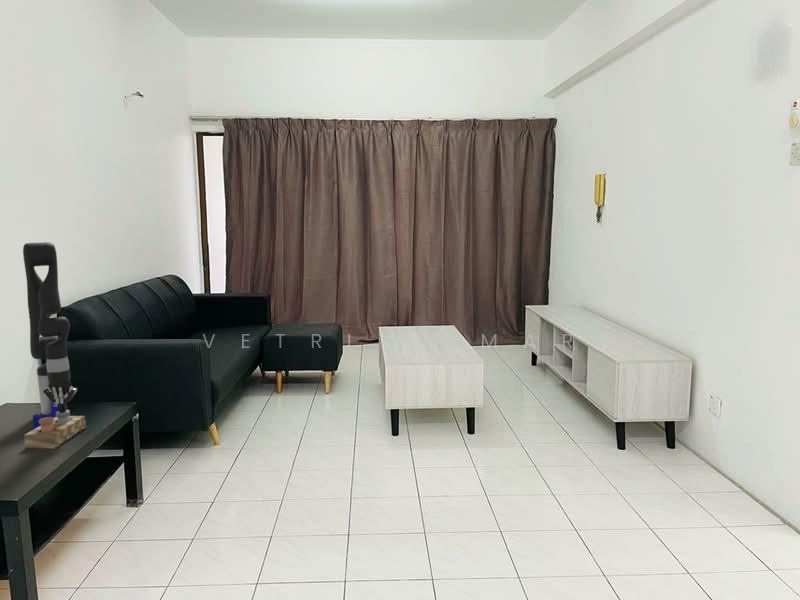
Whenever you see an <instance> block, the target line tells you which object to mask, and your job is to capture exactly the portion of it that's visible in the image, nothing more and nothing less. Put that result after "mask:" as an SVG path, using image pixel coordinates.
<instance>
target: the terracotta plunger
mask: <svg viewBox="0 0 800 600" xmlns="http://www.w3.org/2000/svg"><path fill="white" fill-rule="evenodd" d="M53 422H54V418H53V417H46V416H44V417H43V418H41V419H39V424H40V425H41V433H50V432H52V431H53V430H54V428H53Z"/></svg>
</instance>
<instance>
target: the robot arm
mask: <svg viewBox="0 0 800 600" xmlns="http://www.w3.org/2000/svg"><path fill="white" fill-rule="evenodd" d="M22 254H23V262H24V263H23V264H24V269H25V271H24V272H25V278H26V289H27V290H26V291H27V292H26V293H27V308H28V318H29V331H30V333H29V349H30V355H31V357H32V358H33V359H35V360H41V359H46V363H44V364H41V365H40V366H38V367H37V368H36V373H37V375H36V376H37V383H38V385H37V386H38V392H39V402H40V411H41V415H42V416H47V414H49V413H51V411H52V406H54V405H55V406H58V411H59V413H64V412H66V410H68V404H67V403H68V402H69V401H71V400H73V398H74V396H75V395H76V394H77V391H78V390H79V389H78V387H74V386H73V384H72V382H71V369H70V362H69V358H68V357H69V356H68V349H67V348H68V347H67V345H68V344H67V343H68V337H69V332H70V328H71V323H70V320H69V319H68V318H67V317H66V316H58V317H57V316H55V317H52V316H54V315H56V314H59V313H60V312H61V310H62V305H61V299H60V298H61V297H60V291H59V276H58V275H59V273H58V270H59V269H58V257H57V250H56V246H55V244H54V243H53V242H27V243H25V244H24V245H23V248H22ZM46 266H48V269H47V270H48V271H47V274H46V276H45V277H44V280H42V279H41V278H40V277H41V276H39V274H38V273H37V272H36V271H37V270H36V269H35V267H46ZM68 392H69V393H68Z"/></svg>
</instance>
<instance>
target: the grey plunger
mask: <svg viewBox="0 0 800 600" xmlns="http://www.w3.org/2000/svg"><path fill="white" fill-rule="evenodd" d="M69 416H71V412H70V409H67V410H66V412H64V413H59V411H58V412H56V417H57V420H58V423H67V422H68V421H70V420H69Z"/></svg>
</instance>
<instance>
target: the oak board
mask: <svg viewBox="0 0 800 600" xmlns="http://www.w3.org/2000/svg"><path fill="white" fill-rule="evenodd" d="M85 416H86V415H69V420H70V421H68V422H67V423H58V420H57V417H55V418H54V422H53V428H54V430H53V431H52V432H50V433H41V426H39V427H37V428H36V429H34V428H33V429H32V430H30V431H28V432H27V433H24V434H23V436H24V437H23V439H24V445H25V449H56V448H58V447H59V446H60V444H61V443H62V444H64V443H65V442H67V441H68V440H69V438H70V437H71V438H73V437H74V436H75V435H74V434H76V433H77V432H79V431H80V432H82V431H83V430H82V429H84V428H85V427H86V426H87V425H86V417H85ZM85 429H86V428H85ZM85 429H84V430H85ZM81 430H82V431H81ZM80 432H79V433H80ZM77 434H78V433H77ZM77 434H76V435H77ZM73 435H74V436H73ZM72 436H73V437H72ZM71 438H70V439H71ZM67 439H68V440H67ZM66 440H67V441H66ZM64 441H65V442H64ZM63 442H64V443H63ZM62 444H61V445H62ZM58 445H59V446H58ZM57 446H58V447H57ZM55 447H56V448H55Z"/></svg>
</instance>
